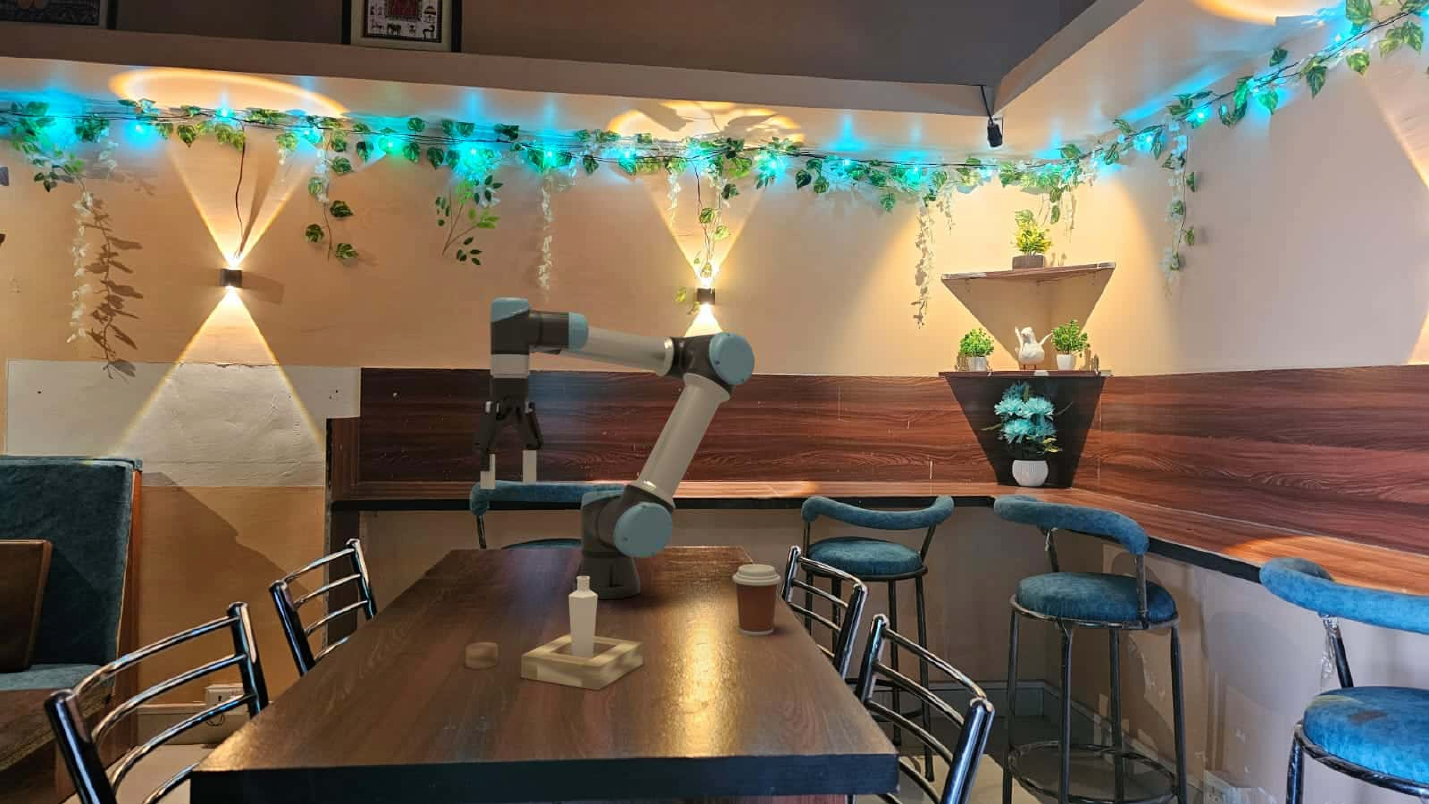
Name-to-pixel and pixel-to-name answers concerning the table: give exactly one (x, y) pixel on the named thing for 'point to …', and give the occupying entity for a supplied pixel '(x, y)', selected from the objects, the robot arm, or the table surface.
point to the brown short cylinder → (481, 655)
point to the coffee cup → (756, 598)
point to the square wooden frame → (582, 662)
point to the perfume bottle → (582, 618)
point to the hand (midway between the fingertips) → (509, 485)
